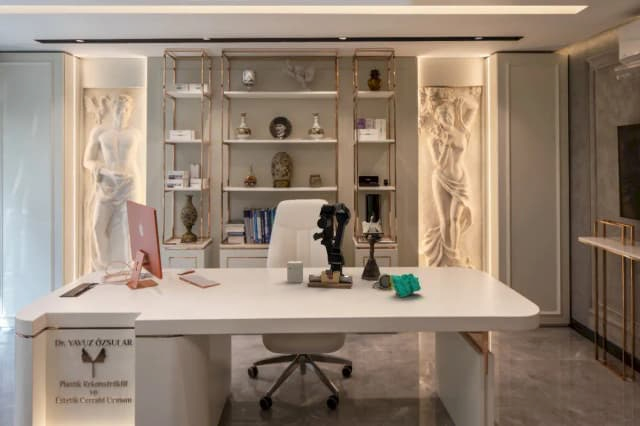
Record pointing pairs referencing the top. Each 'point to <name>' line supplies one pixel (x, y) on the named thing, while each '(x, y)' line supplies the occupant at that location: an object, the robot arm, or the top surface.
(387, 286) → the ceramic mug
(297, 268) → the small box
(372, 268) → the bird statue
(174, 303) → the top surface
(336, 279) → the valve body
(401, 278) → the teal lumpy block
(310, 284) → the walnut board
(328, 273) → the lever
